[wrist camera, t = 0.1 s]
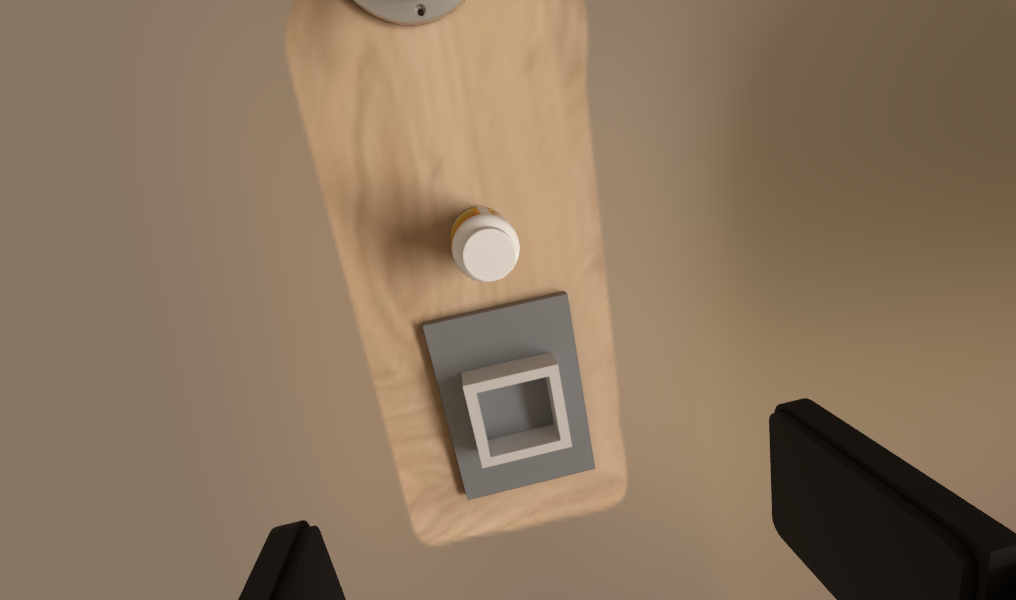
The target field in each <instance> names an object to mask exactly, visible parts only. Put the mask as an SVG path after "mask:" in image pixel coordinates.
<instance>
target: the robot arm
mask: <svg viewBox="0 0 1016 600" xmlns="http://www.w3.org/2000/svg"><path fill="white" fill-rule="evenodd" d="M353 1H354V2H355V3H356V4H357V5H359V6H360V7H361V8H362V9H364V10H365V11H366V12H368V13H370V14H372V15H374V16H375V17H377V18H379V19H381V20H384V21H388V22H391V23H394V24H399V25H411V26H413V25H421V24H428V23H431V22H433V21H436V20H439V19H442V18H443V17H445V16H446V15H448V14H450V13H451V12H453V11H454V10H455V9H456V8H457V7H458V6H459V5H461V4H462V3H463V2H464V1H465V0H353ZM419 10H422V11H424V15H423V16H419V15H418V11H419ZM769 431H770V462H771V492H772V518H773V523H774V526H775V528H776V530H777V532H778V534H779V535H780V536H781V538H782V539H783V540H784V541H785V542H786V543H787V545H788V546H789V547H790V548H791V549H792V550H793V551H794V552H795V553H796V555H797V556H798V557H799V558H800V559H801V560H802V561H803V562H804V564H805V565H806V566H807V567H808V568H809V569H810V570H811V571H812V572H813V574H814V575H815V576H816V577H817V578H818V579H819V580H820V581H821V582H822V584H823V585H824V586H825V587H826V588H827V589H828V590H829V591H830V593H831V594H832V595H833V596H834V597H835V598H836V599H837V600H1016V533H1014V532H1013V531H1011V530H1010V529H1008V528H1007V527H1005V526H1004V525H1002V524H1001V523H999V522H998V521H996V520H994V519H993V518H991V517H990V516H988V515H987V514H985V513H984V512H982V511H981V510H979V509H978V508H976V507H975V506H973V505H971V504H970V503H968V502H967V501H965V500H964V499H962V498H961V497H959V496H958V495H956V494H955V493H953V492H952V491H950V490H948V489H947V488H945V487H944V486H942V485H941V484H939V483H938V482H936V481H934V480H933V479H932V478H930V477H928V476H927V475H925V474H924V473H922V472H921V471H919V470H918V469H916V468H915V467H913V466H912V465H910V464H908V463H907V462H905V461H904V460H902V459H901V458H899V457H898V456H896V455H895V454H893V453H892V452H890V451H889V450H887V449H886V448H884V447H882V446H881V445H879V444H877V443H876V442H875V441H873V440H872V439H870V438H869V437H867V436H866V435H864V434H863V433H861V432H859V431H858V430H856V429H855V428H853V427H852V426H850V425H849V424H847V423H846V422H844V421H843V420H841V419H840V418H838V417H836V416H835V415H833V414H832V413H830V412H829V411H827V410H826V409H824V408H822V407H821V406H820V405H818V404H816V403H815V402H813V401H812V400H810V399H805V398H803V399H799V400H795V401H791V402H787V403H783V404H779V405H778V406H777V407H776V409H775V413H773V414H771V416H770V418H769ZM238 600H346V599H345V596H344V594H343V591H342V588H341V586H340V583H339V580H338V578H337V575H336V572H335V570H334V567H333V564H332V562H331V559H330V556H329V554H328V551H327V548H326V546H325V543H324V540H323V538H322V535H321V532H320V530H319V528H318V527H317V526H311V527H310V526H309V524H308V523H307V522H306V521H303V520H302V521H299V522H295V523H290V524H286V525H282V526H278V527H275V528H273V529H272V530H271V532H270V533H269V536H268V538H267V540H266V542H265V544H264V546H263V548H262V550H261V553H260V555H259V557H258V559H257V561H256V563H255V566H254V567H253V570H252V572H251V574H250V576H249V578H248V580H247V582H246V584H245V587H244V589H243V591H242V593H241V595H240V597H239V599H238Z"/></svg>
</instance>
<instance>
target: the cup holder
mask: <svg viewBox="0 0 1016 600" xmlns="http://www.w3.org/2000/svg"><path fill="white" fill-rule="evenodd" d="M423 329H424V333H425V337H426V341H427V345H428V349H429V353H430V356H431V360H432V364H433V368H434V372H435V376H436V380H437V384H438V387H439V391H440V395H441V399H442V403H443V407H444V411H445V414H446V418H447V422H448V426H449V430H450V434H451V438H452V441H453V445H454V449H455V453H456V457H457V461H458V465H459V469H460V472H461V476H462V480H463V484H464V488H465V492H466V496H467V499H468V500H470V499H475V498H479V497H483V496H487V495H491V494H495V493H499V492H503V491H507V490H511V489H515V488H519V487H523V486H527V485H531V484H535V483H539V482H543V481H547V480H552V479H556V478H560V477H564V476H568V475H572V474H576V473H580V472H584V471H588V470H592V469H595V465H594V458H593V452H592V446H591V439H590V433H589V427H588V421H587V414H586V408H585V402H584V395H583V389H582V383H581V377H580V370H579V364H578V358H577V351H576V345H575V339H574V333H573V326H572V320H571V314H570V307H569V301H568V295H567V293H566V292H565V291H564V292H559V293H555V294H550V295H546V296H541V297H537V298H532V299H528V300H523V301H519V302H514V303H509V304H505V305H500V306H496V307H491V308H487V309H482V310H478V311H473V312H469V313H464V314H460V315H455V316H451V317H446V318H441V319H437V320H432V321H428V322H423Z"/></svg>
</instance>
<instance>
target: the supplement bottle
mask: <svg viewBox="0 0 1016 600" xmlns="http://www.w3.org/2000/svg"><path fill="white" fill-rule="evenodd" d="M451 247H452V254H453V258H454V260H455V263H456V265H457V266H458V268H459V269H460V270H461V271H462V272H463V273H464V274H465V275H466V276H468V277H469V278H471V279H474V280H477V281H481V282H491V281H496V280H499V279H501V278H503V277H505V276H506V275H507V274H508V273H509V272H510V271H511V270H512V269H513V268H514V266H515V264H516V262H517V260H518V257H519V250H520V246H519V240H518V237H517V234H516V232H515V230H514V229H513V227H512V226H511V225H510V224H509V223H508V222H507V221H506V220H505V219H504V218H503V217H502V216H501V215H500V214H499V213H498V212H496V211H494V210H492V209H490V208H486V207H474V208H470V209H468V210H466V211H464V212H463V213H461V214H460V215H459V216H458V217H457V219H456V220H455V222H454V224H453V226H452V230H451Z"/></svg>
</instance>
